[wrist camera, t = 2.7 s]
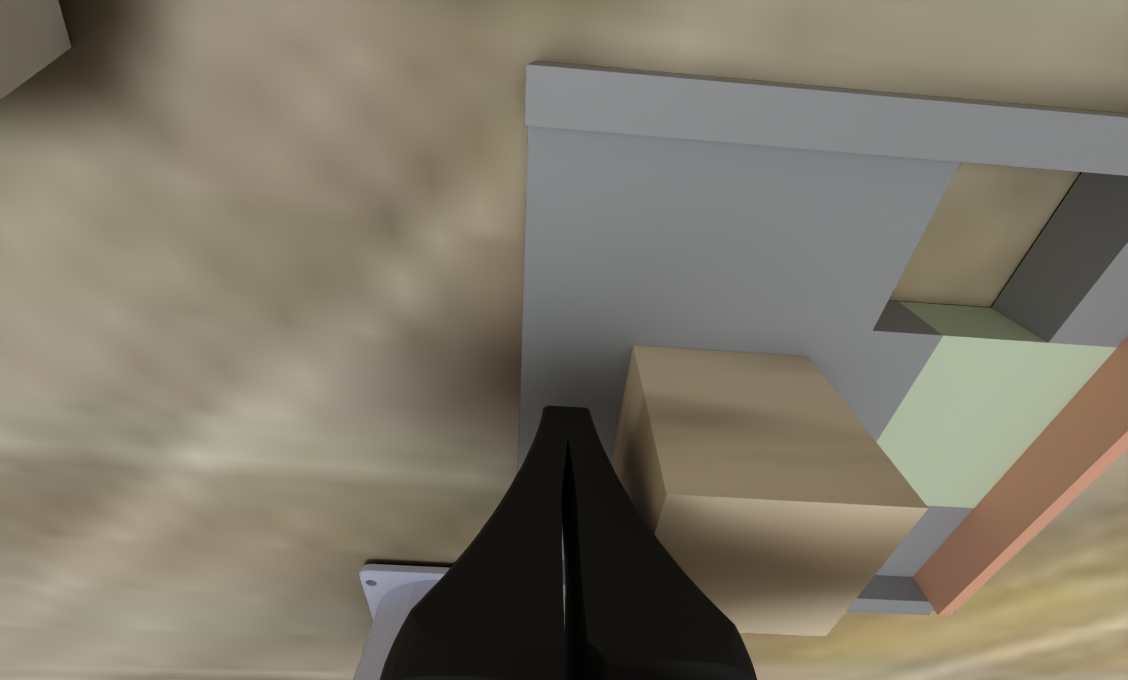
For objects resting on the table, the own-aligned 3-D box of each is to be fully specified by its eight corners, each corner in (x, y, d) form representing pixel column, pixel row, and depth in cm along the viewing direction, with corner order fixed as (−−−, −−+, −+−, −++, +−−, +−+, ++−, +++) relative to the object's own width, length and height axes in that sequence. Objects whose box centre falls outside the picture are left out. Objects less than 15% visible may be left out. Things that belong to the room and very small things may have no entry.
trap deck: (885, 547, 21) (937, 628, 18) (519, 528, 20) (511, 609, 17) (1217, 121, 11) (1447, 146, 8) (535, 60, 11) (524, 64, 8)
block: (755, 476, 15) (825, 635, 11) (610, 468, 15) (626, 627, 11) (808, 356, 13) (928, 508, 8) (633, 345, 13) (666, 494, 8)
